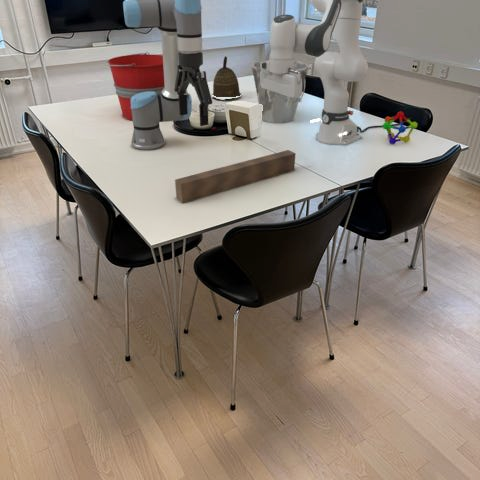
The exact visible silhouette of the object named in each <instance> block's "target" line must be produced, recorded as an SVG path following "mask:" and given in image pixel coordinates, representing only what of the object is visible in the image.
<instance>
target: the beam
mask: <svg viewBox="0 0 480 480" xmlns="http://www.w3.org/2000/svg"><path fill="white" fill-rule="evenodd" d="M295 164H296V152H294V151H291V150H289V149H286V150H282V151H279V152H275V153H271V154H267V155H263V156H260V157H255V158H252V159H248V160H244V161H240V162H237V163H233V164H228V165H226V166H221V167H217V168H213V169H210V170H207V171H202V172H199V173H195V174H190V175H187V176H183V177H180V178H179V177H178V178H176V179H174V184H175V196H176V197H175V198H176V199H177V200H178V201H179V202H180V203H182V204H184V203H188V202H191V201H195V200H199V199H201V198H206V197H208V196H211V195H215V194H219V193H221V192H226V191H229V190H232V189H236V188H239V187H242V186H247V185H248V184H249V185H250V184H253V183H256V182H259V181H263V180H266V179H270V178H273V177H277V176H279V175H284V174H286V173H290V172H293V171H295V167H296V165H295Z"/></svg>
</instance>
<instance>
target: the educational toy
mask: <svg viewBox="0 0 480 480" xmlns="http://www.w3.org/2000/svg"><path fill="white" fill-rule="evenodd" d="M397 119H399V123H400V125H399V127H398V126H390V125H391V124H393V123H394V122H395V121H396V120H397ZM408 119H409V118H408V117H406V116H405V113H404V112H403V111H401V110H400V111H398V112H397V114H396V115H394V116H391V117H390V116H386V117H385V118H384V122H383V123H382V125H383V127H382V129H383V130H386V132H387V138H388V142H389V145H395V144H396V143H397V142H402V141H403V142H404V143H409V142H410V140H411V138H410V136H411V134H412V132H413V131H414V130H415V129H417V127H418V122H417V121H412V120H411V119H410V120H408ZM403 120H404V121H407V122H406V123H408V124H409V125H407V126H404V123H402V122H403ZM392 129H393V130H397V131H398V132H396V134H395V133H394V132H392ZM408 129H409V131H408V133H407V134H406V135H404V136H401V134H403V133H405V132H406V130H408ZM399 135H400V136H399Z"/></svg>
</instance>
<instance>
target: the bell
mask: <svg viewBox="0 0 480 480" xmlns="http://www.w3.org/2000/svg"><path fill="white" fill-rule="evenodd" d="M227 63H228V57H227V56H224V58H223V63H222V67H221V68H219V69H218V70H217V71H216V73H215V75H214V78H213V81H212V83H213V84H212V95H214V96H216V97H236V96H240V95H241V96H242V93H241V92H240V83H239V80H238V79H239V78H238V77H237V75H236V73H235V72H234V70H232V69H231V68H230V67H227Z"/></svg>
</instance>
